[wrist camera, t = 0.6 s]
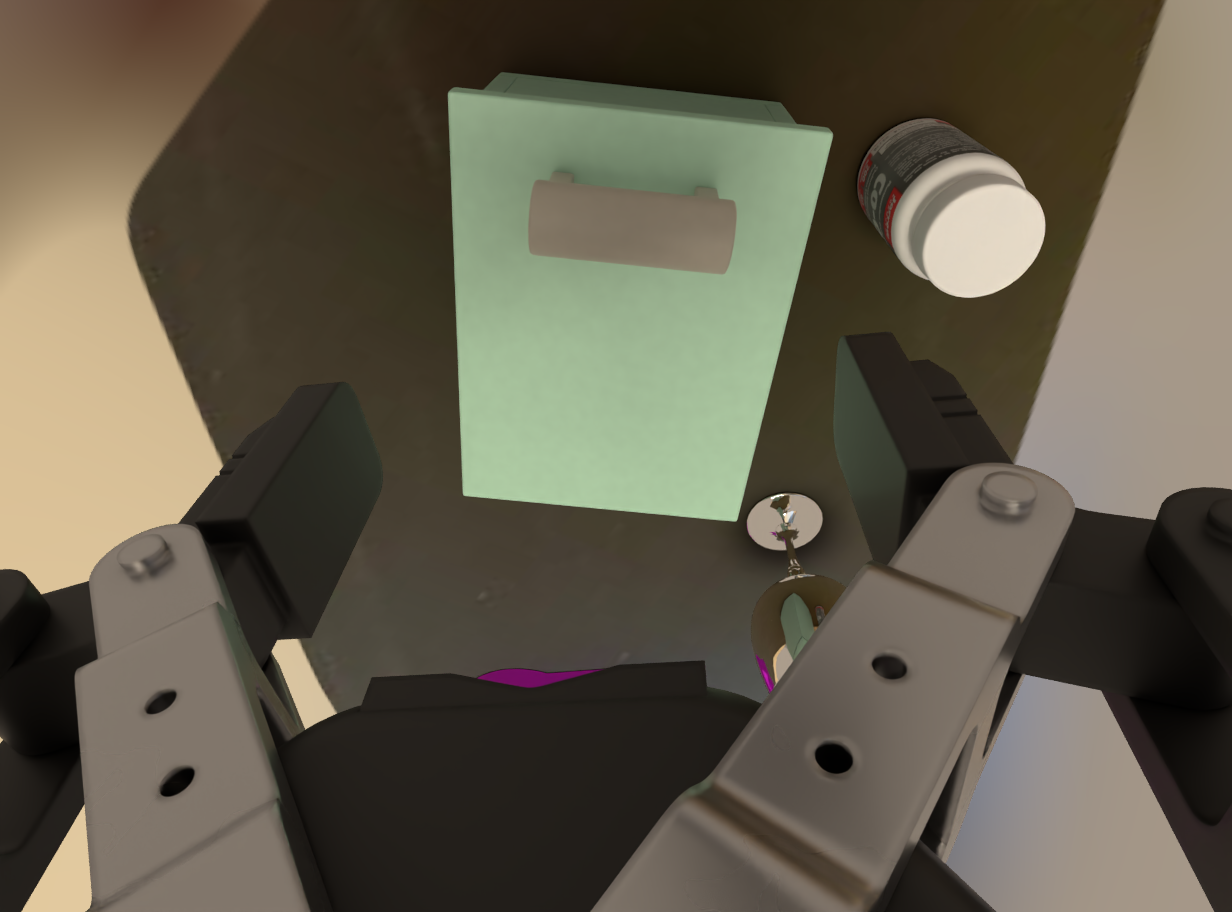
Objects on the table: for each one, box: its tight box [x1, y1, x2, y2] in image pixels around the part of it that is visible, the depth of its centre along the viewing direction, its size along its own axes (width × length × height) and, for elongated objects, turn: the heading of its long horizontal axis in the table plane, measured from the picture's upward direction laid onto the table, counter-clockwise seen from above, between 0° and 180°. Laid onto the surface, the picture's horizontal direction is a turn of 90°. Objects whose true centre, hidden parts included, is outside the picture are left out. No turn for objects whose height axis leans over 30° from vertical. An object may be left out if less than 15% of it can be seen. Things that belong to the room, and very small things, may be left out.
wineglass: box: [746, 492, 846, 694], centre depth 39 cm, size 6×6×12 cm
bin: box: [484, 72, 796, 124], centre depth 31 cm, size 15×12×9 cm
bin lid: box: [448, 87, 833, 521], centre depth 25 cm, size 16×12×5 cm
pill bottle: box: [857, 118, 1045, 298], centre depth 29 cm, size 5×5×8 cm
